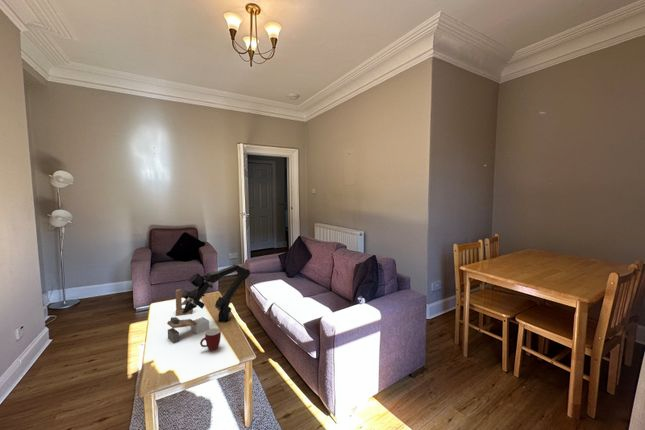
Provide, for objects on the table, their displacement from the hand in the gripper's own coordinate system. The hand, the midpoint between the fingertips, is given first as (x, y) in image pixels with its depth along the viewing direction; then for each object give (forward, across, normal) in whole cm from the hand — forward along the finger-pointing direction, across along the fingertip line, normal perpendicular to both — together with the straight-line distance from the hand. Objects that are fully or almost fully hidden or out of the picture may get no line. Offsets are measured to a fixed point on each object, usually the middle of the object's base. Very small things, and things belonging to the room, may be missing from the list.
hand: (183, 313), depth 162 cm
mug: (+8, +26, +12) cm, 30 cm away
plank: (+5, 0, +4) cm, 7 cm away
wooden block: (0, -30, +20) cm, 36 cm away
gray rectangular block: (+7, 0, +12) cm, 14 cm away
